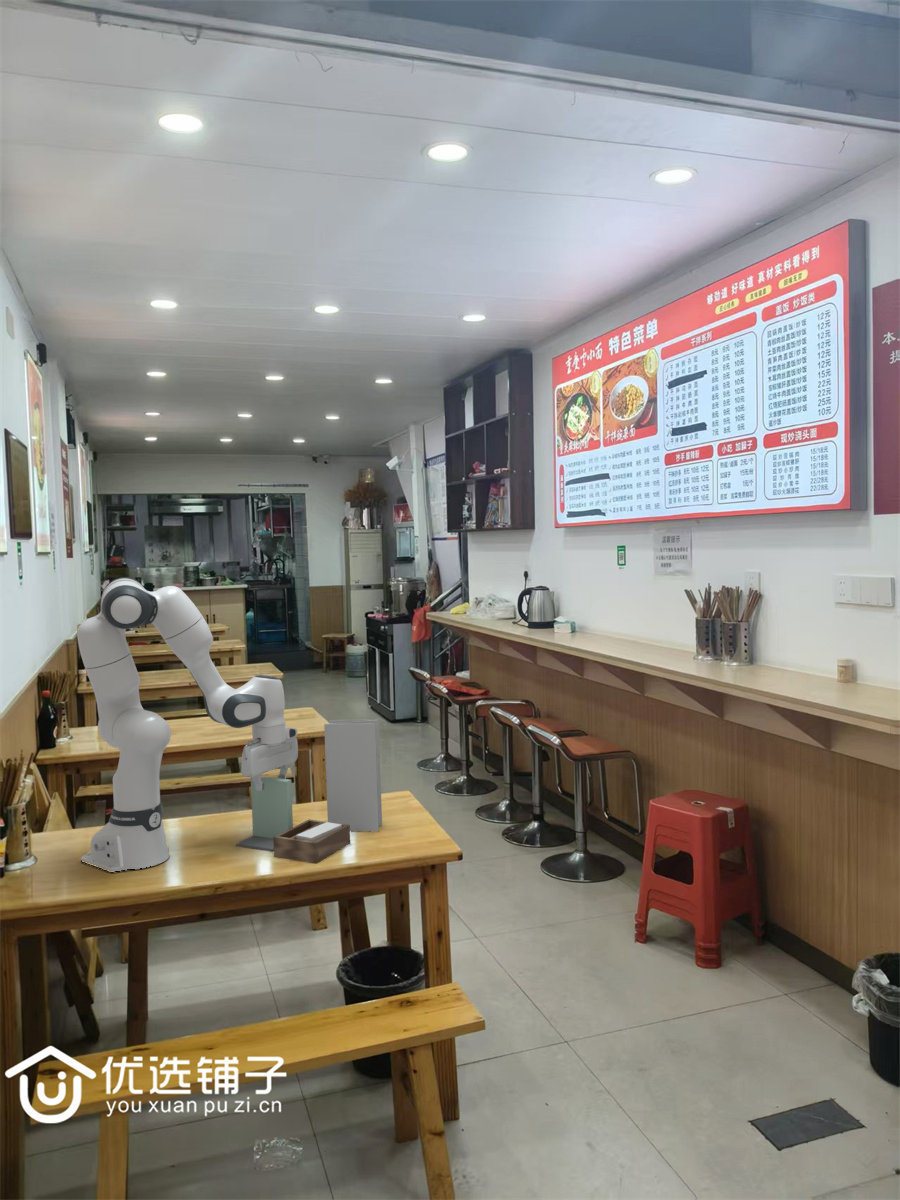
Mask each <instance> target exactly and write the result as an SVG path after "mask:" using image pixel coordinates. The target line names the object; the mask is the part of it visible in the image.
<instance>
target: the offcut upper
mask: <svg viewBox="0 0 900 1200" xmlns="http://www.w3.org/2000/svg"><path fill="white" fill-rule="evenodd" d="M325 822H326V823H323V824H321V825H319V826H316V827H314V828H312V829H309V830H307V831H305V832H302V833H300V834H298V835H296V839H300V840H307V841H314V842H315V841H317V840H319V839H321V838H322V837H324V836H326V835H328V834H330V833H332V832H333V831H335V830H337V829H339V828H341V827H342V825H341V824H335V823H330V822H328V821H325Z"/></svg>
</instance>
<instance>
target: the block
mask: <svg viewBox="0 0 900 1200" xmlns="http://www.w3.org/2000/svg"><path fill="white" fill-rule="evenodd" d="M260 779H261V782H262V783H264V789H263V790H261V791H257V790H256V786H255V783H254V781H253V779H252V777H250V792H251V793H250V794H251V797H250V798H251V818H252V836H259V837H266V838H273V837H275V836H277V835H279V834H281V833H283V832H285V831H287V830H289V829H291V828H293V827H294V822H293V821H294V819H293V817H294V816H293V814H294V813H293V796H292V795H293V794H292V793H293V792H292V791H293V790H292V779H289V778H286V779H280V778H278V777H271V776H270V777H269V776H262V778H260Z"/></svg>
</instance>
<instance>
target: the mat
mask: <svg viewBox="0 0 900 1200" xmlns="http://www.w3.org/2000/svg"><path fill="white" fill-rule="evenodd" d="M236 847H240V848H241V847H242V848H246V849H247V848H249V849H254V850H261V851H267V852H273V853H274V842H273V838H266V837H259V836H253V835H252V836H249V837H247V838H245V839H243V840H241V841H238V842H237V843H236Z"/></svg>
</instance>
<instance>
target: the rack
mask: <svg viewBox="0 0 900 1200" xmlns="http://www.w3.org/2000/svg"><path fill="white" fill-rule="evenodd" d="M326 822H327V821H326V820H325V821H323V820H316V819H308V820H305V821H303V822H301V823H299V824H297V825H295V826H293V828H291V829H289V830H287V831H285V832H283V833H281V834H279V835H277V836H275V837H273V842H274V851H273V857H276V858H281V859H282V858H283V859H289V860H295V861H300V860H301V862H306V861H308V862H307V863H312V862H314V863H313V864H317V862H318V863H320V862H321V861H323V860H325V859H326V858H327V856H328V857H330V856H331V855H333V854H335V853H337V852H338V851H340V850H342V849H343V848H345V847H347V846H348V844H349V845H350V844H351V832H350V825H347V824H341V825H342V827H341V828H339V829H337V830H335V831H333V832H332V833H330V834H328V835H326V836H324V837H322V838H321V839H319V840H317V841H315V842H314V841H307V840H300V839H296V835H298V834H300V833H302V832H305V831H307V830H309V829H312V828H314V827H316V826H319V825H321V824H323V823H326ZM330 823H332V822H330ZM335 824H339V823H335ZM346 845H347V846H346ZM341 848H342V849H341ZM339 849H340V850H339ZM337 850H338V851H337ZM336 851H337V852H336ZM334 852H335V853H334ZM329 855H330V856H329ZM324 858H325V859H324ZM322 859H323V860H322Z"/></svg>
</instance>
